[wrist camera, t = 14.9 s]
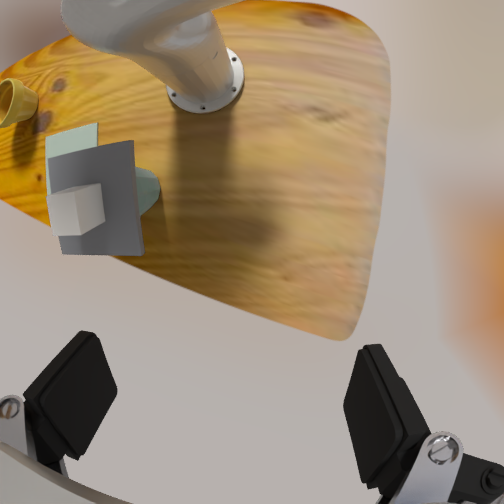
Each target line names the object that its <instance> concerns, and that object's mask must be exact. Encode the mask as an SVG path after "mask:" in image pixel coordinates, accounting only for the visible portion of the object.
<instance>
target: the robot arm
mask: <svg viewBox="0 0 504 504" xmlns="http://www.w3.org/2000/svg"><path fill="white" fill-rule="evenodd" d="M241 1H245V0H62V1H61V6H60V11H61V18H62V20H63V23H64V25H65V27H66V29H67V30H68V31H69V32H70V34H71V35H72V36H73V37H74V38H76V39H77V40H78V41H80V42H81V43H83V44H84V45H86V46H88V47H91V48H93V49H95V50H98V51H101V52H104V53H108V54H112V55H117V56H121V57H125V58H128V59H130V60H132V61H134V62H135V63H137V64H139V65H140V66H141V67H143V68H144V69H146V70H147V71H148V72H150V73H151V74H152V75H154V76H155V77H157V78H158V79H159V80H161V81H162V82H163V83H165V84H166V89H167V93H168V95H169V97H170V99H171V100H172V101H173V102H174V103H175V104H176V105H177V106H178V107H180V108H181V109H183V110H185V111H188V112H191V113H197V114H203V113H210V112H214V111H217V110H220V109H222V108H223V107H225V106H227V105H228V104H229V103H231V102H232V101H233V100H234V99H235V98H236V96H237V95H238V94H239V92H240V90H241V89H242V86H243V83H244V68H243V65H242V62H241V60H240V58H239V57H238V56H237V55H236V54H235V53H234V52H233V51H232V50H230V49H228V48H226V46H225V43H224V40H223V38H222V35H221V32H220V29H219V27H218V24H217V21H216V19H215V17H214V15H213V14H212V12H211V11H212V10H215V9H218V8H221V7H224V6H228V5H231V4H234V3H238V2H241ZM234 60H236V61H235V62H233V61H234ZM233 90H236V92H233ZM175 95H176V97H174V96H175ZM204 107H205V110H203V108H204ZM116 395H117V386H116V384H115V381H114V378H113V376H112V373H111V371H110V368H109V366H108V363H107V360H106V357H105V354H104V351H103V348H102V345H101V342H100V339H99V338H98V337H97V336H96V334H95V333H93V332H88V331H80V332H78V334H77V335H76V336H75V337H74V338H73V339H72V340H71V341H70V342H69V343H68V344H67V345H66V346H65V347H64V348H63V349H62V350H61V352H60V353H59V354H58V355H57V356H56V357H55V358H54V359H53V360H52V361H51V362H50V363H49V365H48V366H47V367H46V368H45V369H44V370H43V371H42V373H41V374H40V375H39V376H38V377H37V378H36V379H35V380H34V382H33V383H32V384H31V385H30V386H29V387H28V389H27V390H26V391H25V392H24V393H23V396H24V397H25V399H26V400H25V402H23V400H22V399H21V398H20V397H19V396H16V395H9V396H5V397H4V398H2V399H1V400H0V504H132V503H129V502H126V501H123V500H120V499H117V498H114V497H112V496H109V495H106V494H103V493H101V492H98V491H96V490H93V489H91V488H89V487H86V486H84V485H81V484H80V483H78V482H75V481H73V480H71V479H69V477H68V474H67V470H66V467H65V463H64V459H63V456H64V455H65V454H66V455H67V456H68V457H71V458H73V459H75V460H77V461H78V460H79V458H80V456H81V455H84V454H85V452H86V450H87V448H88V446H89V444H90V443H91V440H92V439H93V437H94V435H95V433H96V431H97V430H98V428H99V426H100V424H101V422H102V420H103V419H104V417H105V415H106V413H107V411H108V410H109V408H110V406H111V404H112V403H113V401H114V399H115V397H116ZM343 408H344V413H345V417H346V421H347V424H348V428H349V432H350V436H351V440H352V444H353V448H354V452H355V457H356V461H357V465H358V470H359V474H360V478H361V481H362V483H366V484H367V488H368V489H372V488H376V487H378V489H379V492H380V494H381V496H380V498H379V499H378V501H377V502H376V504H504V467H503V466H502V465H500V464H497V463H493V462H490V461H487V460H483V459H480V458H477V457H474V456H471V455H468V454H465V453H463V446H462V443H461V441H460V440H459V438H457V437H456V436H455V435H454V434H452V433H449V432H443V431H441V432H436V433H433V434H431V432H430V430H429V428H428V426H427V424H426V421H425V419H424V417H423V415H422V413H421V411H420V409H419V408H418V406H417V404H416V402H415V400H414V398H413V396H412V394H411V392H410V390H409V388H408V386H407V385H406V383H405V381H404V380H403V378H401V377H399V376H398V374H397V372H396V370H395V368H394V366H393V364H392V363H391V361H390V359H389V357H388V355H387V354H386V352H385V350H384V348H383V347H382V345H381V344H371V345H365V346H364V347H363V349H361V350H359V351H358V353H357V357H356V361H355V365H354V368H353V372H352V376H351V379H350V383H349V386H348V389H347V393H346V396H345V399H344V404H343Z"/></svg>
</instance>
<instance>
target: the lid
mask: <svg viewBox="0 0 504 504" xmlns="http://www.w3.org/2000/svg"><path fill="white" fill-rule="evenodd" d="M48 169H49V179H50V188H51V195H48V196H46V199H47V205H48V212H49V217H50V223H51V228H52V233H53V236H59V241H60V245H61V250H62V254H74V255H118V256H142V255H143V254H144V253H145V249H144V242H143V236H142V228H141V221H140V213H139V204H138V195H137V184H136V172H135V157H134V140H128V141H123V142H117V143H112V144H107V145H102V146H97V147H92V148H88V149H83V150H79V151H75V152H71V153H67V154H63V155H59V156H55V157H52V158H48Z"/></svg>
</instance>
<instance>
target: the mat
mask: <svg viewBox="0 0 504 504" xmlns="http://www.w3.org/2000/svg"><path fill="white" fill-rule="evenodd" d="M97 146H98V123H93V124H89V125H85V126H82V127H78V128H74V129H71V130H67V131H64V132H61V133H57V134H54V135H51V136H48V137H46V181H47V195H51V188H50V179H49V169H48V158H52V157H55V156H59V155H63V154H67V153H71V152H75V151H79V150H83V149H88V148H92V147H97Z"/></svg>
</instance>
